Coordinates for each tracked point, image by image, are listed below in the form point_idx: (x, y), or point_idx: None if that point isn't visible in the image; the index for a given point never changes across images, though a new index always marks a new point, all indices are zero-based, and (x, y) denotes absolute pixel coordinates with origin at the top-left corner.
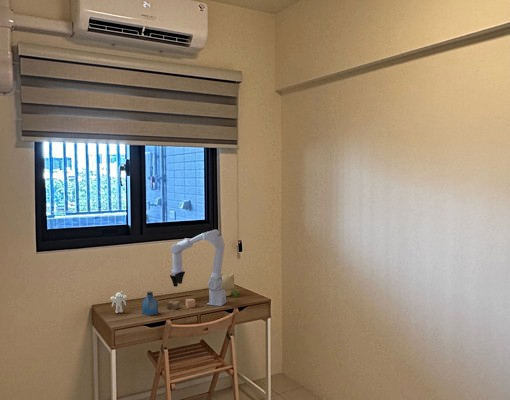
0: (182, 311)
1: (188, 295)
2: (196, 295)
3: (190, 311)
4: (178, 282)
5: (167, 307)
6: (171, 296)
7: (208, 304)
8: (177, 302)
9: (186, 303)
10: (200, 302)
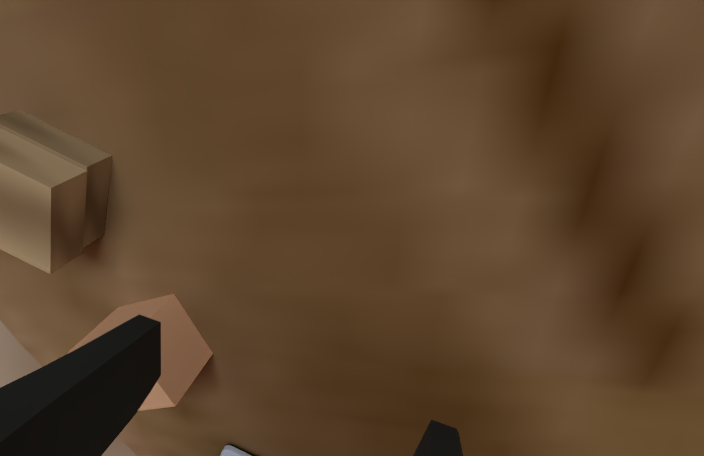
0: (5, 261)
1: (645, 350)
2: (607, 426)
3: (29, 319)
4: (426, 450)
5: (2, 119)
6: (681, 104)
7: (222, 453)
8: (11, 253)
9: (129, 319)
10: (296, 415)
